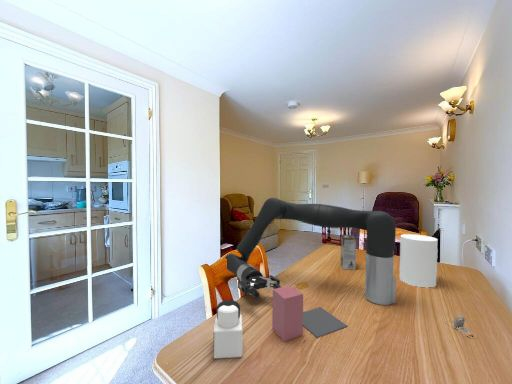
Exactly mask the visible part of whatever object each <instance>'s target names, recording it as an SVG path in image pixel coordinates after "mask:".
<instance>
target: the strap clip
mask: <svg viewBox="0 0 512 384" xmlns="http://www.w3.org/2000/svg"><path fill="white" fill-rule="evenodd" d="M465 320H466V319H465V317H464V316H462V315H456V317H455V318H454V321H453V322H454V327H455V328H457V327H458V328H459V327H463V328H461V329H457V331H458V330H460V331H462V332H463V333H465V334H466V333H467V331H468V330H469V329H468V328H465V327H464V325H465V322H466V321H465ZM455 328H454V329H455ZM469 331H471V330H469ZM471 332H472V333H474V332H473V331H471Z"/></svg>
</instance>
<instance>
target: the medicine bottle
mask: <svg viewBox="0 0 512 384" xmlns="http://www.w3.org/2000/svg"><path fill="white" fill-rule="evenodd" d="M213 326H214V327H213V358H214V359H228V358H229V359H231V358H242V357H243V315H242V314H241V306H240V303H239V302H238V301H237V300H234V299H233V300H232V299H226V300H223V301H220V302H219V303H218V304H217V306H216V316H215V321H214V325H213Z"/></svg>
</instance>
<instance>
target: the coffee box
mask: <svg viewBox="0 0 512 384" xmlns="http://www.w3.org/2000/svg"><path fill="white" fill-rule="evenodd" d="M356 256H357V238H356V237H355V235H353V234H341V235H340V265H341V267H343V268H342V270H350V269H353V271H356V264H357V263H356V261H357V259H356V258H357V257H356Z"/></svg>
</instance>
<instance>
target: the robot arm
mask: <svg viewBox="0 0 512 384" xmlns="http://www.w3.org/2000/svg"><path fill="white" fill-rule="evenodd" d="M274 220H292V221H298V222H301V223H304V224H307V225H313V226H316V227H323V228H328V229H329V228H330V229H331V228H332V229H342V228H343V229H344V228H346V229H347V228H350V229H351V228H352V229H357V230H361V231H362V230H363V231H366V245H365V288H364V294H365V295H364V296H365V298H366V300H367V301H369V302H371V303H373V304H377V305H382V306H389V305H392V304H396V289H397V288H396V286H397V285H396V282H397V281H396V280H397V279H396V276H394V265H395V263H394V261H395V249H396V234H397V232H396V231H397V230H396V229H397V227H396V221H395V220H394V218H393V217H392V216H391V215H390V214H389V213H387V212H385V211H382V210H358V209H357V210H356V209H351V208H345V207H342V206H336V205H331V204H322V203H294V202H289V201H286V200H285V201H284V200H281V199H279V198H276V197H270V198H267V199H266V200H265V201H264V203H263V205H262V206H261V208H260V211H259V212H258V214H257V216H256V218H255V220H254V221H253V223H252V225H251V227H250V228H249V230H247V232H246V234H244V237H242V240H241V241H240V242H239V243H238V245H237V247H236V250H237V252H238V253H239V254H240V256H239V255H236V254H235V253H227V254H226V255H227V256H226V255H225V256H226V257H225V256H224V257H225V258H226V259H227V269H228V270H227V269H226V270H227V271H229V272H231V273H232V274H233V275H234V276H235V277H237V279H239V282H238V283H239V284H238V288H239V290H240V291H241V293H242V294H243V295H244V296H247V295H248V294H249V295H251V296H252V297H253V298H255V299H259V298H260V292H259V291H258V290H261V289H265V290H270V289H272V290H273V289H276V288H281V287H282V286H281V280H280V279H278V277H275V276H274V275H269V277H265V276H263V274H262V272H261V271H260V270H258V269H257V268H256V267H254V266H253V265H252V264H249V263H248V262H249V259H250V256H251V254H252V253H253V252H254V250H256V247H257V246H258V244H259V243H260V241H261V239H262V237H263V235H264V233H265V231H266V229H267V228H268V226H269V225H270V224H271V223H272V222H273V221H274ZM228 254H229V255H228Z"/></svg>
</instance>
